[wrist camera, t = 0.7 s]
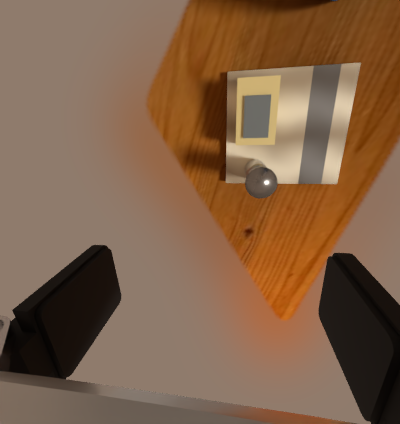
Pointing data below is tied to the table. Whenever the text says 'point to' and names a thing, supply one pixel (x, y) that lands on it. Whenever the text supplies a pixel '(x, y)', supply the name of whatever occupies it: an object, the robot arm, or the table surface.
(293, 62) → the table surface
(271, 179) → the steel pin
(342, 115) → the white square mat
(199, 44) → the table surface
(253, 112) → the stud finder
